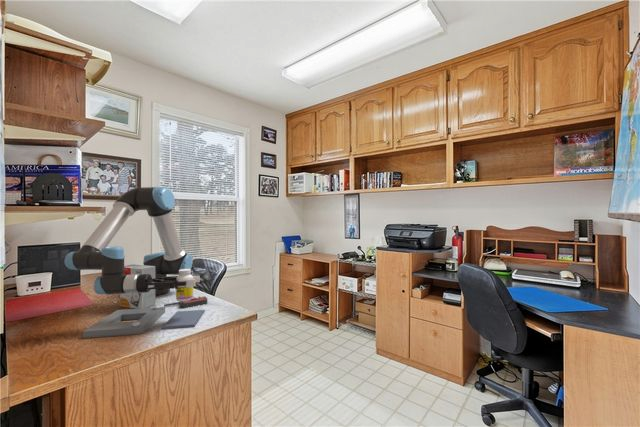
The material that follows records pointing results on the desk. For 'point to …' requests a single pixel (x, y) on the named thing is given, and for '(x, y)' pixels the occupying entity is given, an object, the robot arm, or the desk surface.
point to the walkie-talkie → (191, 302)
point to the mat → (184, 319)
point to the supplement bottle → (184, 292)
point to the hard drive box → (138, 298)
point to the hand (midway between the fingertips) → (197, 280)
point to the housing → (115, 327)
